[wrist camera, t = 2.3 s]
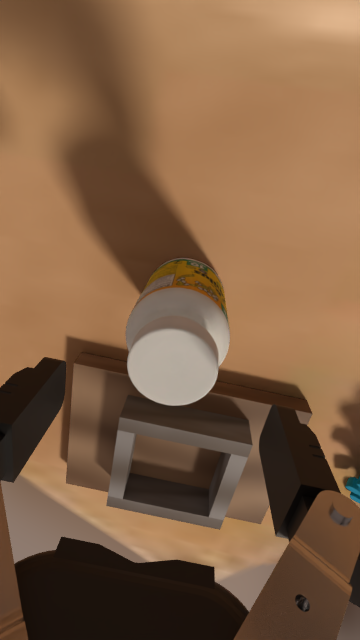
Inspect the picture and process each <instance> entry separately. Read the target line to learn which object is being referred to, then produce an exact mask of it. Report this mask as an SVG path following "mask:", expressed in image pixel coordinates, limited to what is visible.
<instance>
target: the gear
mask: <svg viewBox="0 0 360 640" xmlns="http://www.w3.org/2000/svg"><path fill="white" fill-rule="evenodd" d="M345 487H346V488H347V489H348V490H350V491H351V494H350V497H351V499H352V500H354V501H356V502H358V503H360V476H359V479H357V478H354V477H350V478H348V481H347V484H346V486H345Z"/></svg>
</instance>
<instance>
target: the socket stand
mask: <svg viewBox="0 0 360 640" xmlns="http://www.w3.org/2000/svg"><path fill="white" fill-rule="evenodd" d="M273 404H276V405H281V406H286V407H291V408H294V409H295V411H296V414H297V416H298V419H299V421H300V423H302V424H306V425H307V424H308V422H309V420H310V418H311V416H312V412H311V409H310V407H309V405H308V402H307V400H304V399H299V398H294V397H290V396H285V395H280V394H275V393H271V392H266V391H261V390H257V389H252V388H247V387H242V386H238V385H233V384H228V383H224V382H219V381H216V382H215V384H214V386H213V387H212V389H211V390H210V391H209V392H208V393H207V394H206V395H205V396H204V397H202V398H201V399H199V400H197V401H195V402H193V403H190V404H186V405H178V406H177V405H176V406H172V405H165V404H161V403H157V402H155V401H153V400H151V399H149V398H147V397H145V396H144V395H143V394H142V393H140V392H139V391H138V390H137V388H136V387H135V386H134V384H133V383H132V381H131V379H130V377H129V374H128V369H127V362H124V361H120V360H115V359H110V358H106V357H101V356H96V355H91V354H87V353H81V354H80V355H79V357H78V358H77V359H76V361H75V362H74V368H73V383H72V398H71V414H70V429H69V444H68V459H67V475H66V483H67V484H72V485H77V486H82V487H86V488H91V489H96V490H101V491H105V492H108V499H107V506H110V507H115V508H120V509H124V510H129V511H134V512H139V513H143V514H148V515H153V516H158V517H162V518H167V519H172V520H177V521H181V522H186V523H191V524H196V525H201V526H205V527H210V528H215V529H220V528H221V525H222V523H223V520H224V518H225V517H229V518H234V519H239V520H243V521H248V522H253V523H258V524H261V522H262V520H263V518H264V516H265V514H266V512H267V509H268V507H269V505H270V504H269V499H268V494H267V489H266V484H265V479H264V474H263V469H262V464H261V459H260V453H259V439H260V435H261V432H262V429H263V427H264V424H265V421H266V419H267V416H268V414H269V411H270V408H271V406H272V405H273Z"/></svg>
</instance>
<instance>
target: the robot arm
mask: <svg viewBox="0 0 360 640" xmlns="http://www.w3.org/2000/svg"><path fill="white" fill-rule="evenodd" d="M65 380H66V362H65V361H62V360H57V359H52V358H48V357H44V358H43V359H42V360H41V361H40V362H39V363H38V365H37V366H36V367H35V368H29V367H27V368H25V369H23V370H21V371H19V372H17V373H14V374H13V375H12V376H11V377H10V378H9V379H8V380H7V381H6V382H5V384H3V385H2V386H1V387H0V481H1V480H4V481H8V482H14V481H15V479H16V478H17V476H18V475H19V473H20V472H21V470H22V468H23V467H24V465H25V464H26V462H27V461H28V459H29V458H30V456H31V454H32V453H33V451H34V450H35V448H36V447H37V445H38V443H39V442H40V440H41V439H42V437H43V436H44V434H45V432H46V431H47V429H48V428H49V426H50V425H51V423H52V421H53V420H54V418H55V417H56V415H57V414H58V412H59V410H60V409H61V406H62V404H63V400H64V396H65ZM259 453H260V459H261V464H262V469H263V474H264V479H265V484H266V489H267V494H268V499H269V504H270V509H271V514H272V519H273V524H274V530H275V535H276V536H277V537H282V538H287V539H289V544H288V546H287V548H286V549H285V551H284V553H283V555H282V556H281V558H280V560H279V561H278V563H277V565H276V567H275V568H274V570H273V572H272V574H271V576H270V577H269V579H268V581H267V582H266V584H265V586H264V587H263V589H262V591H261V593H260V594H259V596H258V598H257V600H256V601H255V603H254V605H253V607H252V608H251V610H250V612H249V611H248V610H247V609H246V608H245V606H244V605H243V604H242V603H241V602H240V601H239V600H238V599H237V598H236V597H235V596H234V595H233V594H232V593H231V592H230V591H228V590H227V589H225V588H224V587H222V586H221V585H220V584H218V583H216V582H215V579H214V567H211V566H206V565H201V564H196V563H191V562H186V561H181V560H168V561H157V562H146V563H134V562H132V561H130V560H128V559H126V558H124V557H123V556H121V555H119V554H117V553H115V552H113V551H111V550H109V549H107V548H105V547H103V546H102V545H100V544H95V543H90V542H85V541H80V540H75V539H70V538H65V537H61V539H60V541H59V544H58V546H57V549H56V550H52V551H46V552H42V553H38V554H35V555H32V556H29V557H27V558H25V559H23V560H21V561H18V562H17V563H15V564H14V560H13V554H12V548H11V542H10V536H9V530H8V524H7V518H6V512H5V506H4V500H3V494H2V488H1V482H0V640H336V639H337V636H338V633H339V630H340V627H341V623H342V621H343V617H344V614H345V611H346V608H347V605H348V602H349V601H350V602H351V603H353V604H355V605H357V606H358V607H360V508H359V507H358V506H357V505H356V504H355V503H354V502H353V501H352V500H350V499H349V498H348V497H346V496H344V495H343V494H341V492H340V490H339V488H338V485H337V483H336V481H335V479H334V476H333V474H332V472H331V469H330V467H329V465H328V462H327V460H326V459H325V455H324V453H323V451H322V449H321V446H320V444H319V442H318V439H317V437H316V435H315V434H314V433H313V432H312V431H311V429H310V428H309V427H308V426H307V425H306V424H302V423H300V421H299V419H298V416H297V414H296V411H295V409H294V408H291V407H286V406H281V405H276V404H273V405H272V406H271V408H270V411H269V414H268V416H267V419H266V421H265V424H264V427H263V429H262V432H261V435H260V439H259Z"/></svg>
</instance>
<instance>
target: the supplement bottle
mask: <svg viewBox="0 0 360 640" xmlns="http://www.w3.org/2000/svg"><path fill="white" fill-rule="evenodd" d="M126 343H127V347H128V350H129V354H128V358H127V369H128V374H129V377H130V379H131V381H132V383H133V384H134V386H135V387H136V388H137V390H138V391H139V392H140V393H142V394H143V395H144V396H145V397H147V398H149V399H151V400H153V401H155V402H157V403H161V404H165V405H172V406H176V405H177V406H178V405H186V404H190V403H193V402H195V401H197V400H199V399H201V398H202V397H204V396H205V395H206V394H207V393H208V392H209V391H210V390H211V389H212V387H213V386H214V384H215V382H216V379H217V375H218V368H219V366H220V365H221V363H222V362H223V360H224V359H225V357H226V354H227V352H228V348H229V343H230V331H229V324H228V317H227V310H226V303H225V295H224V289H223V285H222V282H221V280H220V278H219V277H218V275H217V274H216V272H215V271H214V270H213V269H212V268H211V267H209V266H208V265H206V264H205V263H202V262H200V261H197V260H194V259H190V258H176V259H173V260H170V261H167V262H165V263H164V264H162V265H161V266H160V267H158V268H157V269H156V270H155V272H154V273H153V274H152V276H151V277H150V279H149V280H148V282H147V284H146V286H145V288H144V290H143V292H142V294H141V295H140V297H139V299H138V301H137V303H136V305H135V306H134V308H133V310H132V312H131V314H130V317H129V319H128V322H127V326H126Z"/></svg>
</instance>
